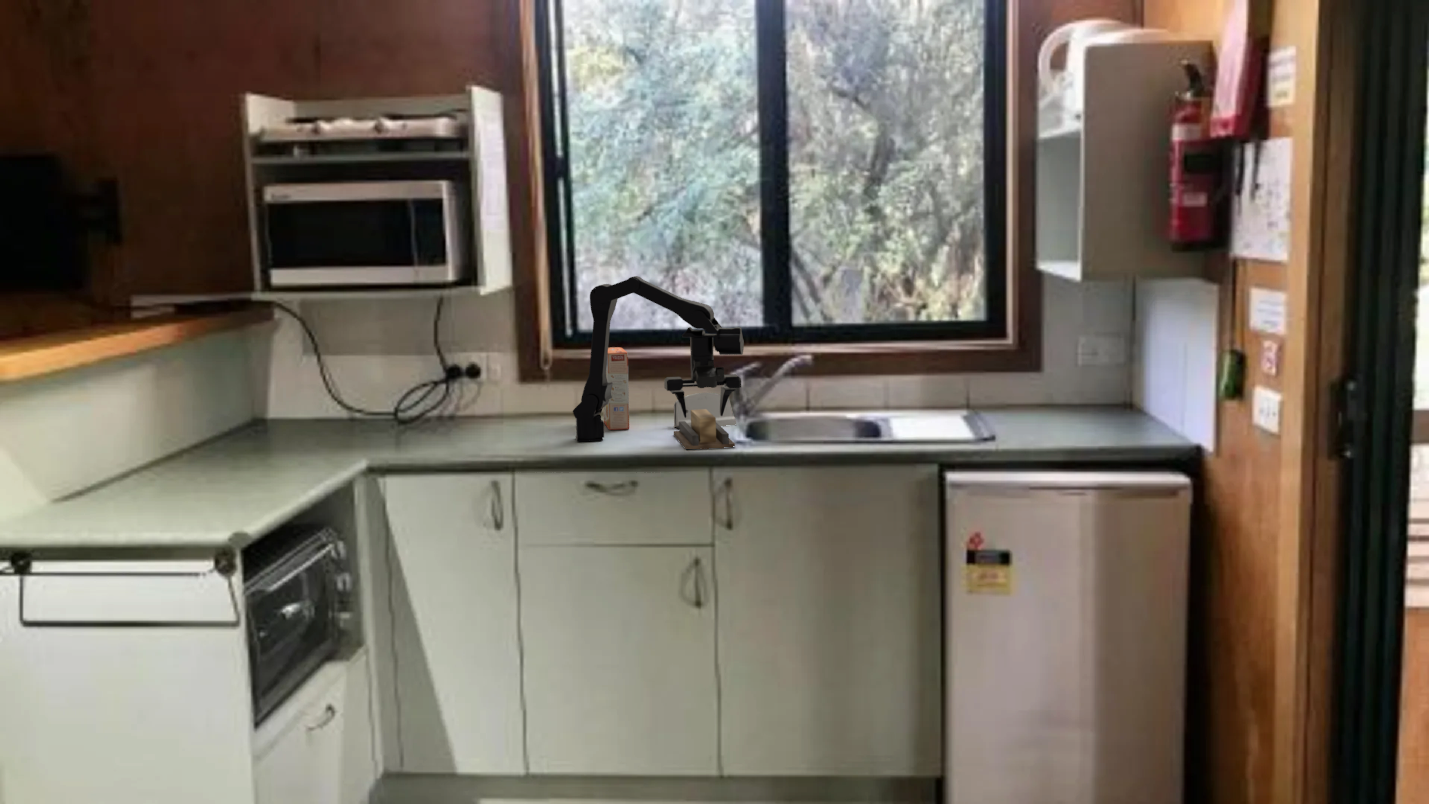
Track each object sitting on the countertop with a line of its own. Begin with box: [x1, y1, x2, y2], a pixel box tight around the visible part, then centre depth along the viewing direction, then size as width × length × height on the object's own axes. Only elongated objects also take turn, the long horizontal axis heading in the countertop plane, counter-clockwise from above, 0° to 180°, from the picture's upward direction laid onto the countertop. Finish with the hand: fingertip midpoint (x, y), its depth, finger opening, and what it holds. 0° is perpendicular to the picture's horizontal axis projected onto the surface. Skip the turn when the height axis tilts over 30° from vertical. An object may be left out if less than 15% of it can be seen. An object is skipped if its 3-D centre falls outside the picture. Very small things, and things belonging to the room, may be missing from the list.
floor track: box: [673, 421, 736, 450], centre depth 335 cm, size 12×22×4 cm, turn 10°
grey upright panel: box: [673, 392, 737, 429], centre depth 359 cm, size 17×5×10 cm, turn 111°
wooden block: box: [691, 409, 716, 442], centre depth 335 cm, size 4×14×6 cm, turn 10°
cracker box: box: [602, 346, 630, 431], centre depth 359 cm, size 14×6×21 cm, turn 10°
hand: (703, 416), depth 335 cm, fingers open, 9 cm apart
